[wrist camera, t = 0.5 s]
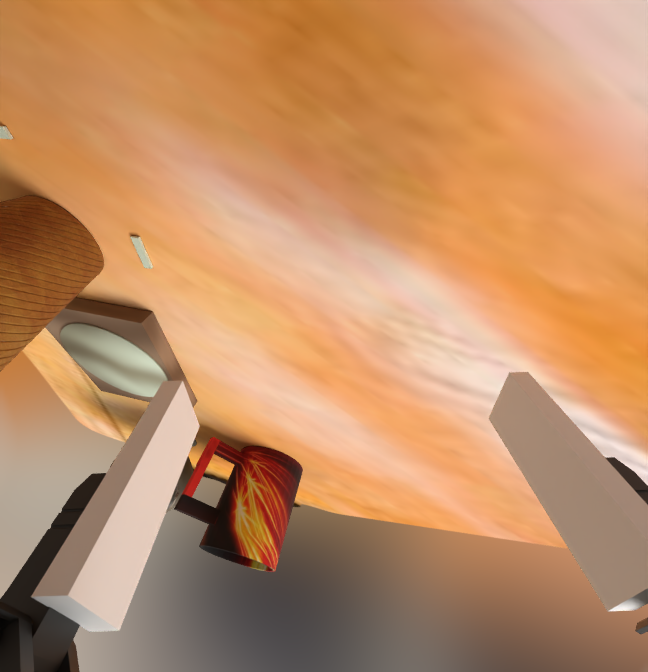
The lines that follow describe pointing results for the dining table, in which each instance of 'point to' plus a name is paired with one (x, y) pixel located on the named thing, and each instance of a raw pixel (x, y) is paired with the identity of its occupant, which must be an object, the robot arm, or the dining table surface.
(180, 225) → the dining table surface
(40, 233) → the disposable coffee cup
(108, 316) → the board
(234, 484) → the mug
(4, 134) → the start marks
